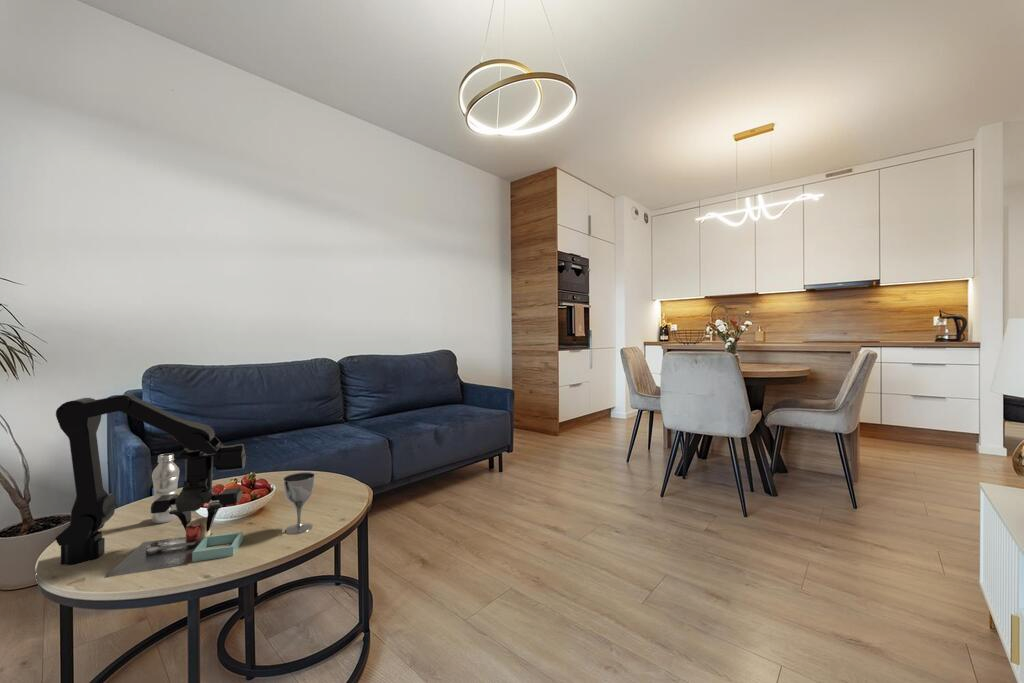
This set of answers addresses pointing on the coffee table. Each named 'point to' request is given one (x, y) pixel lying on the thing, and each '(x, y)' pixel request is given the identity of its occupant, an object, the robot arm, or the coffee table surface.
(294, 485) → the wine glass
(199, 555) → the tray
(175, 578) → the coffee table surface
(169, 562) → the bedplate
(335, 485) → the coffee table surface
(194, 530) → the crank
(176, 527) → the coffee table surface
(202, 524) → the block
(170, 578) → the coffee table surface
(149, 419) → the robot arm
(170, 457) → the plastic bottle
